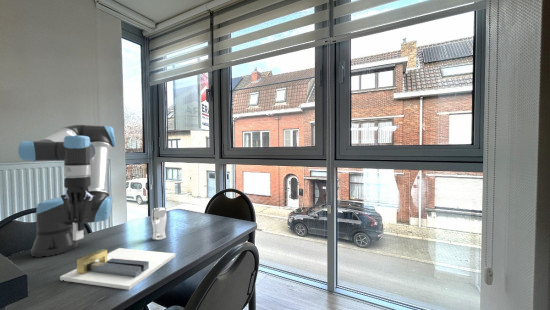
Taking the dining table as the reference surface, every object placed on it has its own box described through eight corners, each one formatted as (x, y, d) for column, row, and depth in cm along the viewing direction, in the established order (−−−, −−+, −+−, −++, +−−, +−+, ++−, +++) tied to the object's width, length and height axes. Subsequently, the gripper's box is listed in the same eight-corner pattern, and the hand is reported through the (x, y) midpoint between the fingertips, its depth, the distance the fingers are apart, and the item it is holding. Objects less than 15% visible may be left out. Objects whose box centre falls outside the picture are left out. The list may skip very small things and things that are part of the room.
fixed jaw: (78, 270, 84) (78, 263, 84) (85, 266, 86) (85, 260, 86) (135, 277, 79) (135, 270, 79) (141, 273, 82) (141, 266, 82)
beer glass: (163, 234, 123) (162, 206, 123) (169, 237, 119) (169, 208, 119) (149, 238, 118) (149, 209, 118) (155, 241, 113) (155, 211, 113)
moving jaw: (106, 267, 85) (106, 261, 85) (112, 264, 88) (112, 258, 88) (143, 271, 83) (143, 264, 83) (148, 267, 85) (148, 261, 85)
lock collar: (77, 272, 82) (76, 259, 82) (101, 260, 91) (100, 248, 91) (83, 273, 81) (83, 260, 81) (107, 261, 90) (107, 249, 90)
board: (60, 280, 80) (59, 276, 79) (119, 250, 103) (119, 248, 103) (129, 289, 74) (129, 286, 74) (175, 256, 98) (175, 253, 98)
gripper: (52, 177, 84) (53, 241, 84) (81, 177, 82) (82, 244, 82) (74, 175, 91) (74, 234, 92) (101, 175, 89) (101, 236, 89)
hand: (78, 238), depth 87 cm, fingers closed
